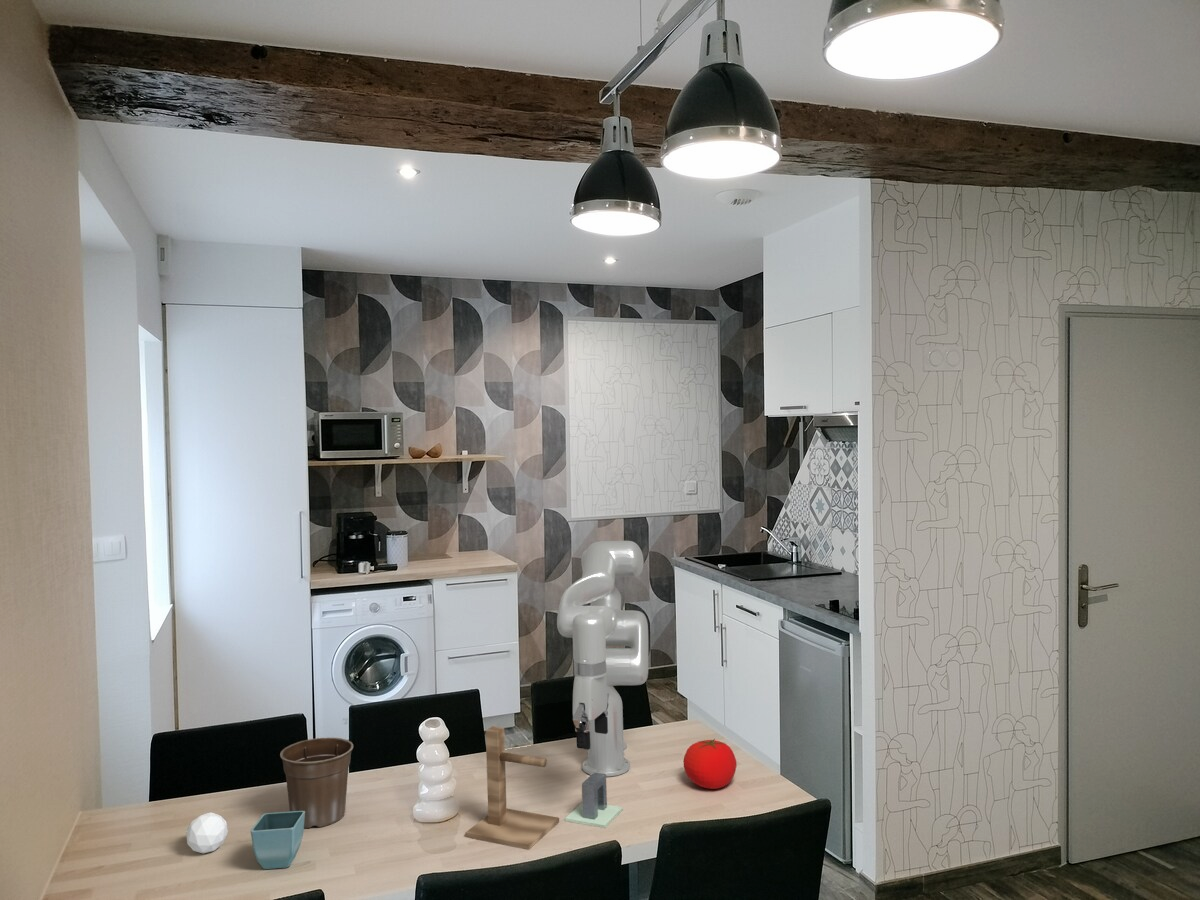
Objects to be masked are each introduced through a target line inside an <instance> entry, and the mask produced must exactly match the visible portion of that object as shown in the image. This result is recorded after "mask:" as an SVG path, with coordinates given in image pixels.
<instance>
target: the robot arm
mask: <svg viewBox="0 0 1200 900" xmlns="http://www.w3.org/2000/svg"><path fill="white" fill-rule="evenodd" d="M580 560H581V569H582V573H581V575H582V576H581V577H580V578H579V579H577V580H575V582H573V583H572V584H570V586H569V587H567V588H566V590H564V592H563V594H562V595H561V597H560V600H559V605H558V609H557V618H556V627H557V630H558V633H559V634H560V635H561V636H562V637H563V638H568V639H569V638H571V639H572V641H573V642H572V644H573V645H572V646H573V647H572V649H573V675H574V680H573V685H572V686H573V689H572V721H573V726H574V729H575V730H574V731H575V732H576V733H575V734H576V735H575V736H576V748H577V749H579V750H580V749H581V750H587V759H584V761H583V762H582V768H581V769H582V770H583V772H585V773H586V774H588V775H590V776H591V775H592V774H593V773H594V772H596V773H602V774H606V778H607V777H614V776H619V775H623V774H625V773H628V771H629V770H630V767H631V763H630V761H629V760H628V759H627V758H625V754H624V753H625V752H624V751H626V750H627V748H628V745H627V743H625V742H624V717H623V715H624V713H623V709H624V707H623V701H622V697H621V696H620V694H619V692H618V691H617V690H616V688H615V686H641V685H643V684H645V682H647V680H648V676H649V626H648V625H649V624H648V619H647V617H646V615H645V613H643V612H642V611H639V610H632V609H631V610H630V609H629V610H622V594H621V593H620V591H619V590H618V588H617V587H616V586H615V581H616V580H615V579H616V578H624V577H625V578H630V577H631V578H633V577H634V578H635V577H639V576H640V575H641V574H642V573H643V569H644V554H643V552H642V549H641V548H640V546H639V545H638V544H637V543H636V542H634V541H632V540H600V541H594V542H592V543H591V544H590V545H588V547H587V548H586V549H585V550H584V551H583V553H582V554H581V559H580ZM588 604H590V605H588ZM583 722H584V723H585V724H584V723H583Z"/></svg>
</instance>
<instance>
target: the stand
mask: <svg viewBox="0 0 1200 900" xmlns="http://www.w3.org/2000/svg"><path fill="white" fill-rule="evenodd" d="M505 737H506V736H505V727H503V726H502V727H501V726H495V725H494V726H491V727H489V728H488V729H486V730H485V746H486V752H485V753H486V781H487V782H486V783H487V784H486V785H487V789H486V790H487V815H486V816H485V817H484V818H482V819H481V820H479V822H477V823H476V824H475V825H473V826H472V827H471V828H469V829H468V830H466V832H465V833H464V834H465V838H468V839H473V840H479V841H484V842H489V843H493V844H498V845H500V844H501V845H504V846H509V847H514V848H519V849H524V850H530V849H532V848H533V846H535V845H536V844H537V843H539V841H540V840H541V839H543V838H544V837H545V836H546V835H547V834H548V833H549V832H550V831H551V830H552V829H553V828H554V827H556V825H558V824H559V823H560V817H558V816H553V815H546V814H541V813H535V812H529V811H524V810H518V809H517V810H516V809H513V808H512V809H511V808H508V807H507V784H506V783H507V782H506V781H507V780H506V779H507V778H506V777H507V776H506V775H507V774H506V763H512V764H513V763H514V764H520V765H526V766H527V765H528V766H533V767H541V768H545V767H546V766H547V763H548V761H547V758H544V757H537V756H531V755H523V754H516V753H511V752H506V746H505V745H506V743H505V742H506V740H505Z"/></svg>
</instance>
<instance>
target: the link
mask: <svg viewBox="0 0 1200 900" xmlns="http://www.w3.org/2000/svg"><path fill="white" fill-rule="evenodd" d="M607 795H608V794H607V777H606V774H602V773H596V772H594V773H593V774H592V775H590V776H589V777H587V778H586V779H585V780H584V781H583V782H582V783H581V799H582V800H581V803H582V810H583V818H587V819H593V820H595V819H596V818H597V817H598V810H605V809H606V808H607V805H608V801H607V799H608V798H607Z"/></svg>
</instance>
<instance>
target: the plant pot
mask: <svg viewBox="0 0 1200 900" xmlns="http://www.w3.org/2000/svg"><path fill="white" fill-rule="evenodd" d="M353 749H354V744H353V742H352V741H350V740H348V739H345V738H341V737H318V738H310V739H309V738H308V739H305V740H300V741H297V742H295V743H293V744H290V745H288V746H286V747H284V748H283V749H282V750H281V751H280V754H279V756H280V759H281V760H282V766H283V767H282V768H283V772H284V774H285V779H286V780H285V781H286V791H287V797H288V807H289V812H292V811H305V819H304V829H311V828H312V827H317V828H322V827H327V826H330V825H333V824H334V823H336V822H338V821H340V820H341V819H343V817H344V816H345V813H346V807H347V806H346V804H347V790H348V778H349V776H348V775H349V766H350V764H351V758H352V757H351V755H352V751H353Z"/></svg>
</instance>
